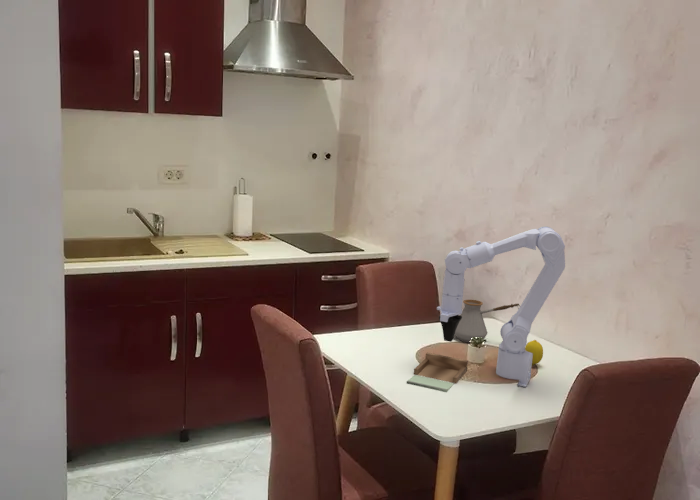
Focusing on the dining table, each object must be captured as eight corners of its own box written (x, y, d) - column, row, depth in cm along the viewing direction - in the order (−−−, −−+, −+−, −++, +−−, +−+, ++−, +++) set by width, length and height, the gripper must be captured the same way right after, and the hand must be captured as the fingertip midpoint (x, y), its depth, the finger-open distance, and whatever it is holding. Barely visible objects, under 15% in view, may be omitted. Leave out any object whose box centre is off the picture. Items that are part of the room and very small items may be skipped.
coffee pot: (447, 339, 219) (451, 295, 216) (458, 331, 229) (462, 289, 226) (511, 353, 209) (516, 307, 206) (519, 344, 219) (524, 300, 216)
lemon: (542, 369, 196) (545, 343, 194) (523, 367, 197) (526, 341, 196) (540, 363, 201) (543, 338, 200) (522, 361, 202) (525, 336, 201)
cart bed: (466, 375, 187) (467, 360, 186) (455, 388, 176) (457, 372, 176) (425, 367, 191) (427, 352, 191) (413, 379, 181) (414, 363, 180)
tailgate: (454, 383, 176) (447, 390, 170) (453, 387, 176) (446, 394, 170) (415, 374, 180) (406, 381, 174) (414, 379, 181) (406, 385, 174)
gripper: (446, 286, 192) (441, 331, 195) (431, 296, 179) (426, 344, 182) (469, 290, 190) (465, 335, 192) (456, 301, 177) (451, 349, 179)
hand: (448, 340), depth 187 cm, fingers closed
